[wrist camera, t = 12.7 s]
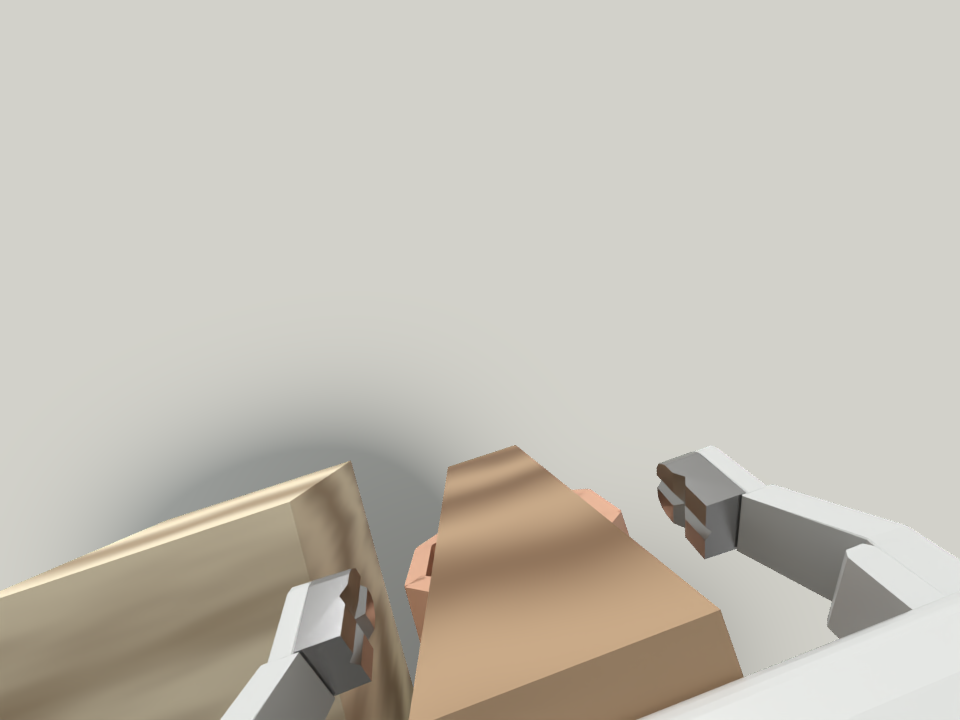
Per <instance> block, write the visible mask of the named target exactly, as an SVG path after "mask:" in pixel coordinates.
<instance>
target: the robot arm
mask: <svg viewBox="0 0 960 720" xmlns="http://www.w3.org/2000/svg"><path fill="white" fill-rule="evenodd" d="M657 476H658V477H659V478H660V479H661V480H662V481H661V483H660V485H659V486H658V488H657V489H658V497H659V500H660V503H661V506H662V508H663V509H664V511H665V513H666V514H667V516H668V517H669V518H670V519H671V521H672V522H673V523H675V524H677V525H679V526H682V527H684V528H685V536H686V538H687V539H688V541H690V543H691V544H692V545H693V546H694V547H695V549H696V550H697V551H698V552H699V553H700V555H701V556H702V557H703V558H704V559H707V558H710V557H713V556H716V555H719V554H722V553H725V552H728V551H731V550H733V549H737V551H739V552H741V553H742V554H744V555H746V556H748V557H750V558H752V559H754V560H756V561H757V562H759V563H761V564H763V565H765V566H767V567H769V568H771V569H773V570H774V571H776V572H778V573H780V574H782V575H784V576H786V577H787V578H789V579H791V580H793V581H795V582H797V583H799V584H801V585H802V586H804V587H806V588H808V589H810V590H812V591H814V592H816V593H817V594H819V595H821V596H823V597H825V598H827V599H829V600H831V601H832V603H831V607H830V611H829V615H828V618H827V626H828V628H829V629H830V630H831V631H832V632H833V633H834V634H835V635H836V636H837V637H838V638H839V639H838V640H835V641H833V642H831V643H828V644H825V645H823V646H820V647H818V648H816V649H813V650H810V651H808V652H805V653H803V654H800V655H798V656H795V657H793V658H790V659H788V660H785V661H783V662H780V663H778V664H775V665H773V666H770V667H768V668H765V669H763V670H760V671H758V672H755V673H753V674H750V675H748V676H745V677H743V678H740V679H737V680H735V681H732V682H730V683H727V684H725V685H722V686H720V687H717V688H715V689H712V690H710V691H707V692H705V693H702V694H700V695H697V696H695V697H692V698H690V699H687V700H685V701H682V702H680V703H677V704H675V705H672V706H670V707H667V708H665V709H662V710H660V711H657V712H655V713H652V714H650V715H647V716H645V717H642V718H640V719H637V720H960V559H958V558H957V557H955V556H954V555H952V554H951V553H949V552H947V551H946V550H944V549H943V548H941V547H940V546H938V545H937V544H935V543H933V542H932V541H930V540H929V539H927V538H926V537H924V536H922V535H921V534H919V533H918V532H916V531H915V530H913V529H912V528H910V527H908V526H907V525H904V524H901V523H897V522H894V521H891V520H888V519H884V518H881V517H878V516H875V515H871V514H868V513H865V512H862V511H858V510H855V509H852V508H849V507H845V506H842V505H839V504H836V503H832V502H829V501H826V500H823V499H819V498H816V497H813V496H810V495H806V494H803V493H800V492H797V491H793V490H789V489H786V488H783V487H780V486H777V485H774V484H772V485H768V486H767V485H765V484H764V483H763V482H761V481H760V480H759V479H757V478H756V477H755V476H754V475H752V474H751V473H750V472H748V471H747V470H746V469H744V468H743V467H742V466H741V465H739V464H738V463H736V462H735V461H734V460H733V459H731V458H730V457H729V456H728V455H726V454H725V453H724V452H722V451H721V450H720V449H718V448H717V447H715V446H708V447H705V448H702V449H699V450H697V451H694V452H690V453H687V454H684V455H682V456H679V457H676V458H673V459H670V460H668V461H665V462H662V463H659V464H658V466H657ZM360 580H361V576H360V574H359V573H358V571H357V570H356V568H352V569H349V570H345V571H342V572H339V573H336V574H332V575H329V576H326V577H323V578H320V579H316V580H313V581H311V582H308V583H305V584H301V585H298V586H295V587H292V588H291V590H290V591H289V593H288V594H287V596H286V600H285V603H284V607H283V610H282V614H281V617H280V621H279V624H278V628H277V631H276V635H275V638H274V642H273V645H272V648H271V652H270V655H269V659H268V662H267V663H266V664H263V665H261V666H260V667H259V668H258V670H257V671H256V672H255V674H254V675H253V676H252V678H251V679H250V680H249V682H248V683H247V684H246V686H245V687H244V688H243V690H242V691H241V692H240V694H239V695H238V696H237V698H236V699H235V700H234V702H233V703H232V704H231V706H230V707H229V708H228V710H227V711H226V713H225V714H224V715H223V717H222V718H221V719H220V720H325V719H326V717H327V715H328V713H329V711H330V709H331V707H332V704H333V702H334V700H335V697H334V696H336V695H339V694H341V693H344V692H346V691H349V690H351V689H354V688H356V687H359V686H361V685H364V684H366V683H369V682H371V681H372V667H373V651H374V649H373V647H372V646H371V644H370V642H369V641H368V640H369V638H370V636H371V635H372V633H373V631H374V629H375V610H374V602H373V599H372V596H371V594H370V592H369V590H368V588H367V587H364V586H361V585H360Z"/></svg>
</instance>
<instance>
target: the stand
mask: <svg viewBox="0 0 960 720" xmlns="http://www.w3.org/2000/svg"><path fill="white" fill-rule="evenodd" d="M352 568H356V570H357V571H358V573H359V574H360V576H361V580H360V585H361V586H364V587H367V588H368V590H369V592H370V594H371V596H372V599H373V602H374V610H375V629H374V631H373V633H372V635H371V636H370V638H369V640H368V641H369V642H370V644H371V646H372V647H373V649H374V651H373V667H372V681H371V682H369V683H366V684H364V685H361V686H359V687H356V688H354V689H351V690H349V691H346V692H344V693H341V694H339V695H336V696H334V697H335V700H334V702H333V704H332V707H331V709H330V711H329V713H328V715H327V717H326V719H325V720H409V715H410V709H411V702H412V696H413V685H412V682H411V678H410V675H409V671H408V667H407V664H406V660H405V656H404V653H403V649H402V645H401V642H400V638H399V634H398V631H397V627H396V624H395V620H394V616H393V613H392V609H391V606H390V602H389V598H388V594H387V591H386V587H385V583H384V580H383V576H382V573H381V569H380V566H379V562H378V558H377V555H376V551H375V547H374V543H373V540H372V536H371V533H370V529H369V525H368V522H367V518H366V515H365V511H364V507H363V504H362V500H361V496H360V493H359V489H358V485H357V482H356V478H355V474H354V471H353V467H352V463H351V461H348V462H345V463H342V464H339V465H336V466H333V467H330V468H327V469H324V470H320V471H317V472H314V473H311V474H308V475H305V476H302V477H299V478H296V479H293V480H290V481H286V482H284V483H280V484H277V485H274V486H271V487H268V488H265V489H262V490H259V491H256V492H252V493H250V494H247V495H243V496H240V497H237V498H234V499H231V500H228V501H225V502H222V503H219V504H215V505H212V506H209V507H206V508H203V509H200V510H197V511H194V512H191V513H188V514H185V515H181V516H178V517H176V518H172V519H169V520H166V521H164V522H161V523H159V524H157V525H154V526H152V527H150V528H147V529H145V530H143V531H140V532H138V533H136V534H133V535H131V536H129V537H126V538H124V539H121V540H119V541H117V542H115V543H112V544H110V545H107V546H105V547H103V548H100V549H98V550H96V551H93V552H91V553H89V554H86V555H84V556H81V557H79V558H77V559H74V560H72V561H70V562H67V563H65V564H63V565H60V566H58V567H56V568H53V569H51V570H49V571H47V572H44V573H42V574H39V575H37V576H34V577H32V578H30V579H27V580H25V581H23V582H20V583H18V584H16V585H14V586H11V587H9V588H6V589H4V590H2V591H0V720H220V719H221V718H222V717H223V715H224V714H225V713H226V711H227V710H228V708H229V707H230V706H231V704H232V703H233V702H234V700H235V699H236V698H237V696H238V695H239V694H240V692H241V691H242V690H243V688H244V687H245V686H246V684H247V683H248V682H249V680H250V679H251V678H252V676H253V675H254V674H255V672H256V671H257V670H258V668H259V667H260V666H261V665H263V664H266V663H267V662H268V659H269V655H270V652H271V648H272V645H273V642H274V638H275V635H276V631H277V628H278V624H279V621H280V617H281V614H282V610H283V607H284V603H285V600H286V596H287V594H288V593H289V591H290V590H291V588H292V587H295V586H298V585H301V584H305V583H308V582H311V581H313V580H316V579H320V578H323V577H326V576H329V575H332V574H336V573H339V572H342V571H345V570H349V569H352Z"/></svg>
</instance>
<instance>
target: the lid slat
mask: <svg viewBox="0 0 960 720" xmlns="http://www.w3.org/2000/svg"><path fill="white" fill-rule="evenodd" d="M740 678H743V674H742V671H741V668H740V665H739V662H738V659H737V656H736V653H735V651H734V648H733V645H732V642H731V640H730V636H729V633H728V630H727V628H726V625H725V622H724V619H723V616H722V613H721V610H720V609H719V608H718V607H716V606H715V605H714V604H712V603H711V602H710V601H709V600H708V599H706V598H705V597H704V596H703V595H701V594H700V593H699V592H698V591H696V590H695V589H694V588H693V587H691V586H690V585H689V584H688V583H686V582H685V581H684V580H683V579H681V578H680V577H679V576H678V575H676V574H675V573H674V572H673V571H672V570H670V569H669V568H668V567H667V566H665V565H664V564H663V563H661V562H660V561H659V560H658V559H657V558H655V557H654V556H653V555H652V554H650V553H649V552H648V551H647V550H645V549H644V548H643V547H642V546H640V545H639V544H638V543H637V542H635V541H634V540H633V539H632V538H631V537H629V536H628V535H627V534H626V533H624V532H623V531H622V530H621V529H619V528H618V527H617V526H616V525H614V524H613V523H612V522H611V521H609V520H608V519H607V518H606V517H604V516H603V515H602V514H601V513H599V512H598V511H597V510H596V509H594V508H593V507H592V506H591V505H589V504H588V503H587V502H586V501H585V500H583V499H582V498H581V497H580V496H578V495H577V494H576V493H575V492H573V491H572V490H571V489H570V488H568V487H567V486H566V485H565V484H563V483H562V482H561V481H560V480H558V479H557V478H556V477H555V476H553V475H552V474H551V473H550V472H548V471H547V470H546V469H545V468H543V467H542V466H541V465H540V464H538V463H537V462H536V461H535V460H533V459H532V458H531V457H530V456H529V455H527V454H526V453H525V452H523V451H522V450H521V449H520V448H519V447H517V446H516V445H514V446H511V447H508V448H505V449H502V450H499V451H496V452H493V453H490V454H486V455H484V456H480V457H477V458H474V459H471V460H468V461H465V462H462V463H459V464H456V465H453V466H450V467H448V471H447V478H446V484H445V491H444V497H443V504H442V510H441V516H440V523H439V529H438V535H437V542H436V548H435V554H434V561H433V567H432V574H431V580H430V587H429V593H428V599H427V606H426V612H425V619H424V625H423V632H422V638H421V644H420V651H419V658H418V664H417V670H416V677H415V683H414V689H413V696H412V702H411V709H410V715H409V720H637V719H640V718H642V717H645V716H647V715H650V714H652V713H655V712H657V711H660V710H662V709H665V708H667V707H670V706H672V705H675V704H677V703H680V702H682V701H685V700H687V699H690V698H692V697H695V696H697V695H700V694H702V693H705V692H707V691H710V690H712V689H715V688H717V687H720V686H722V685H725V684H727V683H730V682H732V681H735V680H737V679H740Z"/></svg>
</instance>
